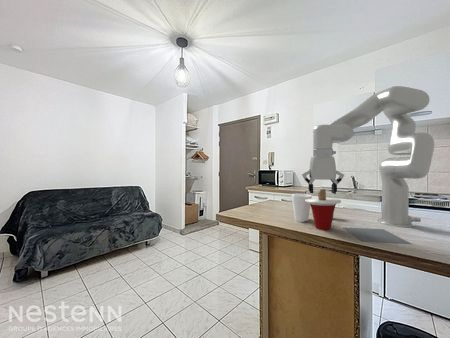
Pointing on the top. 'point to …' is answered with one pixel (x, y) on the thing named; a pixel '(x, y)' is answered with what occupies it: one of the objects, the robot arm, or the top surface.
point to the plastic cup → (323, 215)
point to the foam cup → (301, 207)
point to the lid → (322, 199)
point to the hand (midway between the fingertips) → (322, 193)
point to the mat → (375, 235)
